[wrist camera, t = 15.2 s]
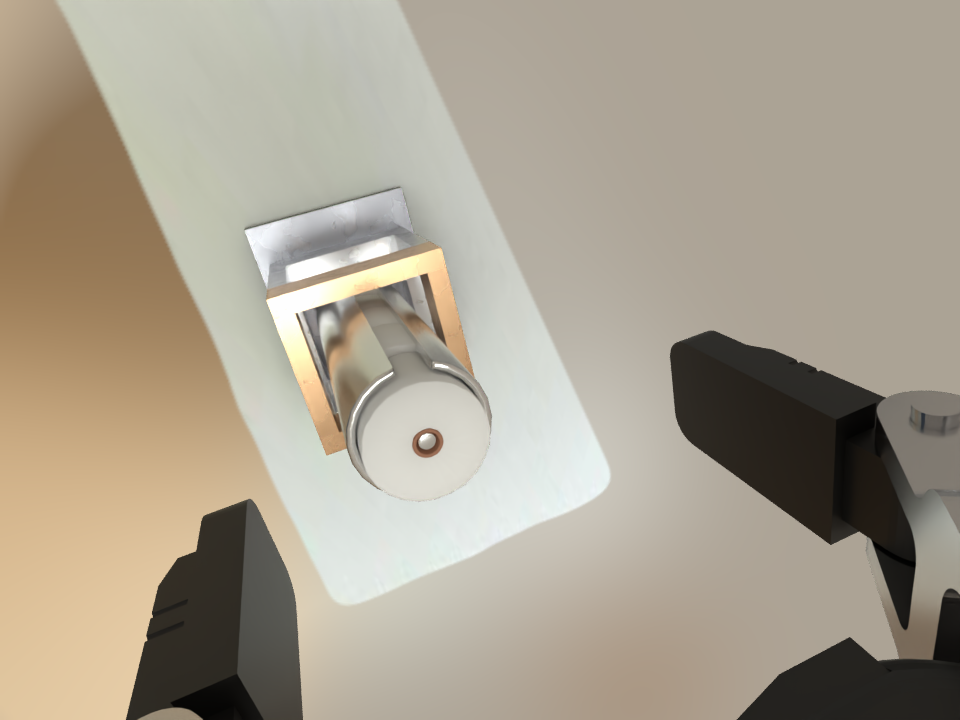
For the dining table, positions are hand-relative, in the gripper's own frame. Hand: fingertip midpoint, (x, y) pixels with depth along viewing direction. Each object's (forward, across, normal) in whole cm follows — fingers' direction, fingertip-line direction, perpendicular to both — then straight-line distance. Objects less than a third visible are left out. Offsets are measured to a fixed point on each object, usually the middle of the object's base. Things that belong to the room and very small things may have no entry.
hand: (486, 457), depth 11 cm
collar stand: (+38, 0, +8) cm, 39 cm away
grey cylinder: (+38, 0, +8) cm, 38 cm away
